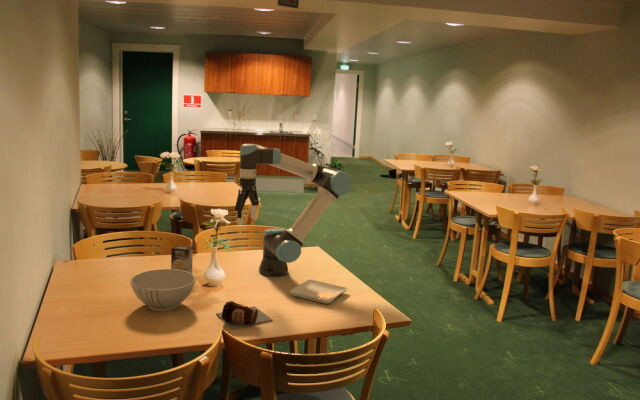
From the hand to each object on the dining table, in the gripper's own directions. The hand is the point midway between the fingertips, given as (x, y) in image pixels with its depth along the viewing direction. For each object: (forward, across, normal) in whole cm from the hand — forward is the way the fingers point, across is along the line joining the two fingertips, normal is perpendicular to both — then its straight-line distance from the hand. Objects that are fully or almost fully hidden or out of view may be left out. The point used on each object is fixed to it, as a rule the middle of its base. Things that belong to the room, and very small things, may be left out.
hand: (246, 221), depth 266 cm
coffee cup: (+28, -41, -26) cm, 56 cm away
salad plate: (+32, +4, -37) cm, 49 cm away
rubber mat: (+31, -36, -18) cm, 51 cm away
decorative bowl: (+31, -40, +19) cm, 54 cm away
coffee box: (+31, -7, +31) cm, 45 cm away
